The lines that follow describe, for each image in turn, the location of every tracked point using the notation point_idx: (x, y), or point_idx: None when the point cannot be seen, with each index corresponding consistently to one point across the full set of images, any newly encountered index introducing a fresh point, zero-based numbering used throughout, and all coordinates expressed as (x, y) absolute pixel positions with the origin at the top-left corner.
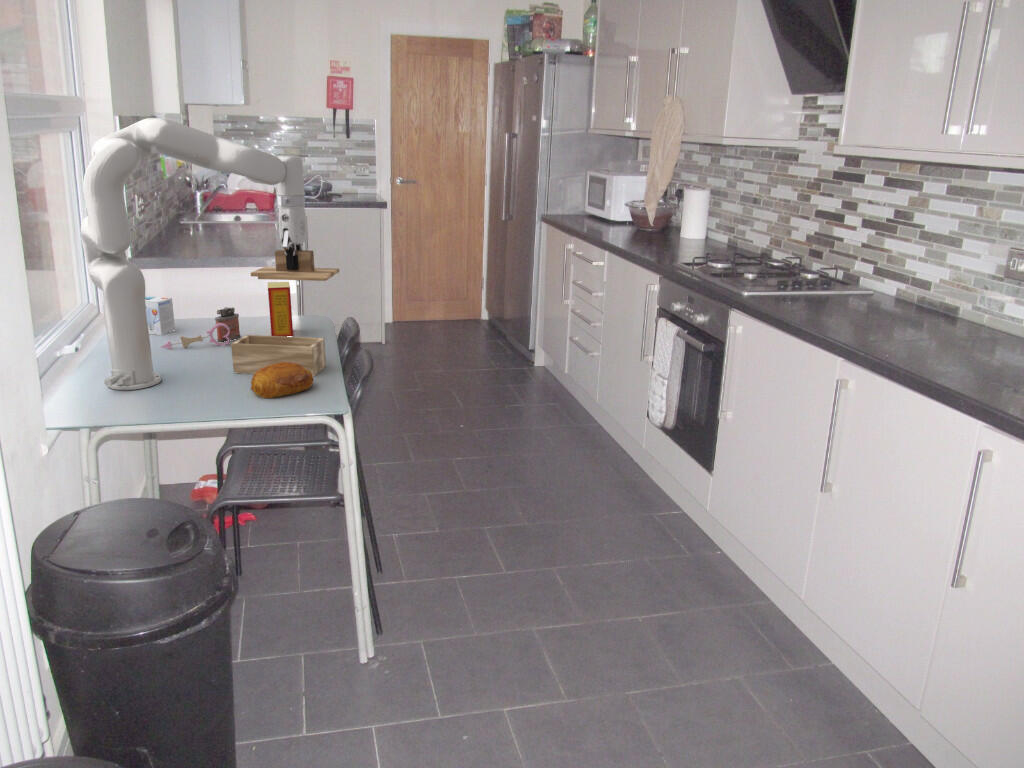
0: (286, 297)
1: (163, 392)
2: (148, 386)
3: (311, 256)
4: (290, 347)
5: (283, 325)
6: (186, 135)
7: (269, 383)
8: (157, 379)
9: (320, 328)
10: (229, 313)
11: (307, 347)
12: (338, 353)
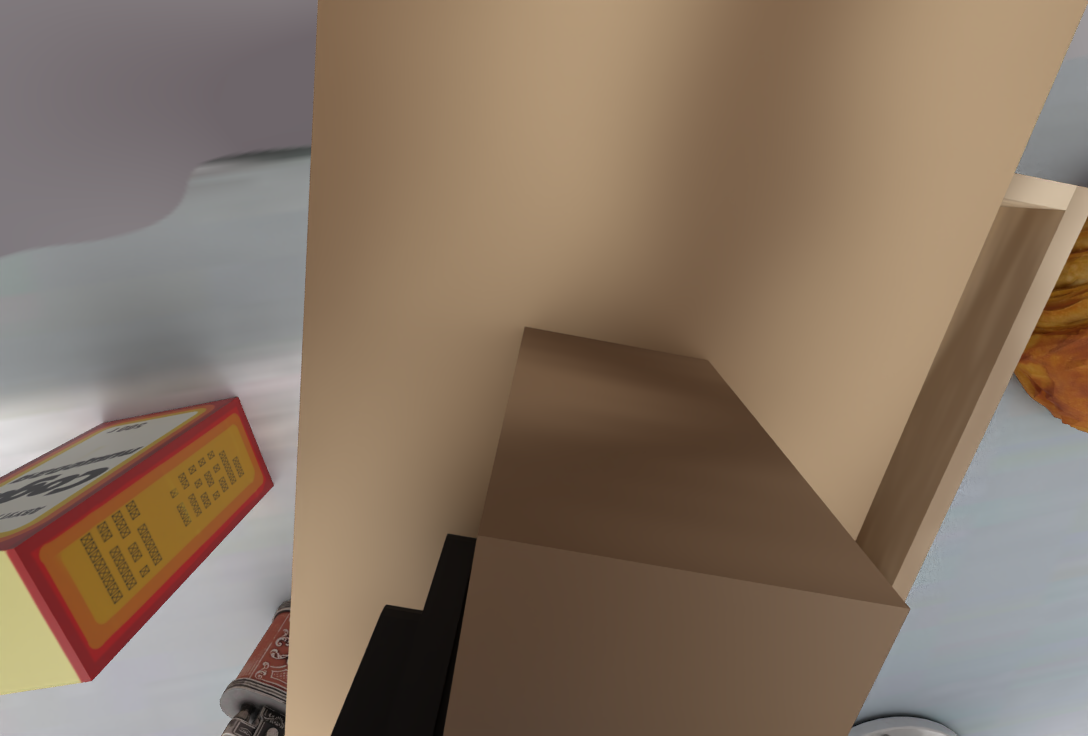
0: (93, 527)
1: (1017, 681)
2: (955, 733)
3: (685, 477)
4: (1032, 323)
5: (220, 461)
6: None
7: None
8: (923, 729)
9: (45, 288)
10: (275, 727)
11: (1085, 220)
12: None
